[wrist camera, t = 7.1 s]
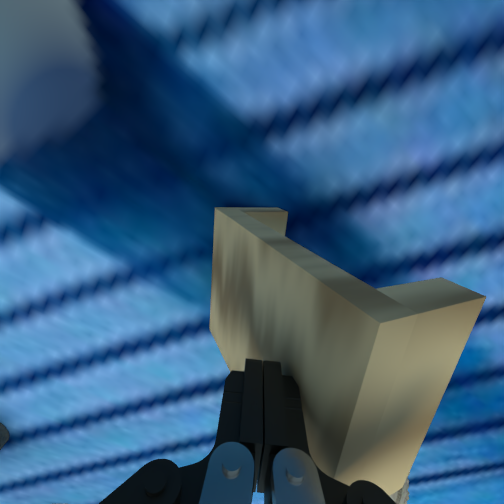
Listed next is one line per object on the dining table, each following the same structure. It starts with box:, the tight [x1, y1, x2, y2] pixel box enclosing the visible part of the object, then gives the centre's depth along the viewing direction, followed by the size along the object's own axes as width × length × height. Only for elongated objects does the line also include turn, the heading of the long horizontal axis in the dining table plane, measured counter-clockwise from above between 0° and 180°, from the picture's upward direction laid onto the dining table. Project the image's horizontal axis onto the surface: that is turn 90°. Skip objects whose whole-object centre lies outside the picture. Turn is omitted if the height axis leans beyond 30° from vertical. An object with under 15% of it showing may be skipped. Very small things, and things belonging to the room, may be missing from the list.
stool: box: [210, 207, 486, 496], centre depth 16 cm, size 10×5×14 cm, turn 175°
